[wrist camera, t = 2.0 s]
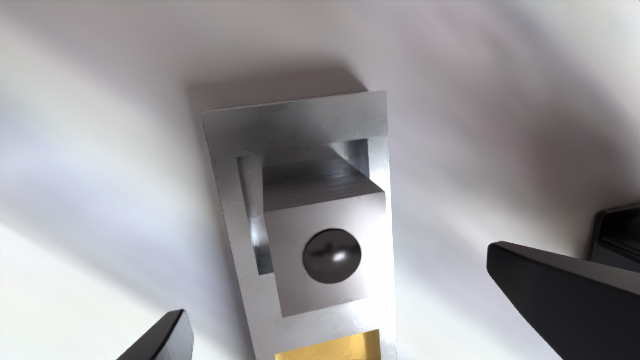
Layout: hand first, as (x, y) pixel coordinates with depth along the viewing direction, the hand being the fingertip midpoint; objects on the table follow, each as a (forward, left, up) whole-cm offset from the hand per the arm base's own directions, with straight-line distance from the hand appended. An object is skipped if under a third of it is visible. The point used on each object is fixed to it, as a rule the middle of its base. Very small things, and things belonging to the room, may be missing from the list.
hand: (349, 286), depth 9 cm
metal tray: (0, +5, -8) cm, 10 cm away
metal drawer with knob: (0, 0, -8) cm, 8 cm away
